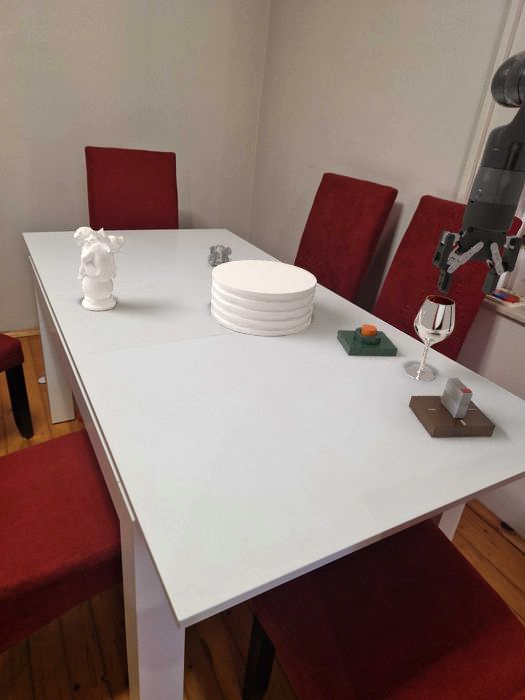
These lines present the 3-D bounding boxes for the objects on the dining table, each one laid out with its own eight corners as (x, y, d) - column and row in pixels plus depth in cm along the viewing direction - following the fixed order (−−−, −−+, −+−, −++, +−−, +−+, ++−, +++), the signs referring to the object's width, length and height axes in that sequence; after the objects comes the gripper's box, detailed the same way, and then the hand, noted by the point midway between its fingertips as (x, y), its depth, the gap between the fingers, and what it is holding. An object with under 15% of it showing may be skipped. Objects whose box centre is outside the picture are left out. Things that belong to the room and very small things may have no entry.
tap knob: (440, 401, 88) (448, 376, 86) (449, 401, 89) (458, 376, 86) (454, 418, 83) (463, 392, 81) (464, 418, 84) (473, 392, 81)
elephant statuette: (225, 260, 170) (226, 240, 167) (239, 270, 161) (240, 248, 158) (202, 262, 166) (202, 241, 162) (215, 272, 157) (216, 250, 153)
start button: (372, 330, 114) (373, 324, 113) (377, 337, 110) (379, 330, 110) (358, 330, 113) (360, 324, 112) (363, 336, 110) (365, 330, 109)
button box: (380, 338, 119) (383, 324, 117) (395, 356, 110) (399, 342, 108) (336, 337, 117) (339, 323, 115) (348, 356, 108) (351, 341, 106)
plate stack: (331, 326, 123) (338, 286, 118) (242, 343, 109) (245, 299, 104) (275, 292, 144) (278, 256, 138) (194, 303, 129) (194, 264, 124)
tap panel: (463, 405, 92) (467, 394, 91) (491, 436, 84) (496, 424, 83) (408, 406, 91) (411, 394, 89) (431, 437, 82) (435, 425, 81)
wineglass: (420, 386, 98) (442, 309, 90) (393, 369, 104) (412, 295, 96) (445, 379, 102) (469, 305, 94) (418, 363, 108) (438, 291, 100)
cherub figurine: (75, 301, 123) (66, 219, 113) (118, 293, 131) (113, 216, 121) (93, 316, 115) (86, 230, 105) (138, 307, 123) (135, 226, 113)
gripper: (517, 197, 78) (488, 287, 85) (442, 191, 75) (418, 284, 83) (548, 205, 71) (513, 301, 79) (466, 199, 69) (438, 299, 76)
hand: (464, 292), depth 81 cm, fingers open, 8 cm apart
